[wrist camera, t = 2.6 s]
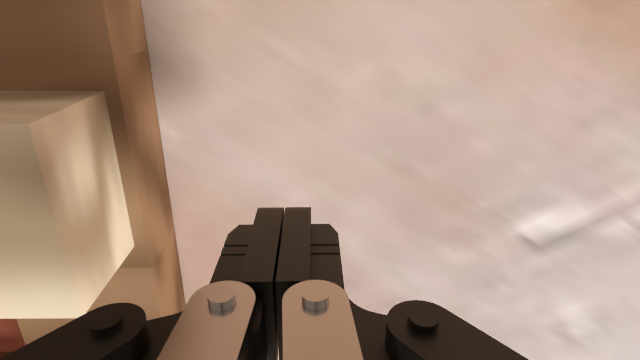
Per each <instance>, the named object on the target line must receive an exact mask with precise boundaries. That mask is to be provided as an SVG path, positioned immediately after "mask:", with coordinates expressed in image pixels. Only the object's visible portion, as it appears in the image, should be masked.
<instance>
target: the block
mask: <svg viewBox="0 0 640 360" xmlns="http://www.w3.org/2000/svg"><path fill="white" fill-rule="evenodd" d="M133 248H134V241H133V236H132V231H131V226H130V221H129V216H128V211H127V206H126V200H125V195H124V190H123V185H122V180H121V175H120V170H119V165H118V159H117V154H116V149H115V144H114V139H113V134H112V129H111V124H110V118H109V113H108V108H107V103H106V98H105V93H104V91H0V319H50V318H78V317H80V316H82V315H84V314H86V312H87V311H88V310H89V308H90V307H91V305H92V304H93V303H94V301H95V300H96V299H97V297H98V296H99V294H100V293H101V292H102V290H103V289H104V287H105V286H106V285H107V283H108V282H109V281H110V279H111V278H112V276H113V275H114V274H115V272H116V271H117V270H118V268H119V267H120V265H121V264H122V263H123V261H124V260H125V259H126V257H127V256H128V254H129V253H130V252H131V250H132V249H133Z"/></svg>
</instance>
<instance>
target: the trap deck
mask: <svg viewBox="0 0 640 360" xmlns="http://www.w3.org/2000/svg"><path fill="white" fill-rule="evenodd" d="M0 91H104V93H105V98H106V103H107V108H108V113H109V118H110V124H111V129H112V134H113V139H114V144H115V149H116V154H117V159H118V165H119V170H120V175H121V180H122V185H123V190H124V195H125V200H126V206H127V211H128V216H129V221H130V226H131V231H132V236H133V241H134V248H133V249H132V250H131V252H130V253H129V254H128V256H127V257H126V259H125V260H124V261H123V263H122V264H121V265H120V267H119V268H118V270H117V271H116V272H115V274H114V275H113V276H112V278H111V279H110V281H109V282H108V283H107V285H106V286H105V287H104V289H103V290H102V292H101V293H100V294H99V296H98V297H97V299H96V300H95V301H94V303H93V304H92V305H91V307H90V308H89V310H88V311H87V312H86V313H88V312H89V311H92V310H94V309H96V308H98V307H101V306H104V305H108V304H113V303H132V304H135V305H138V306H140V307H141V308H142V309H143V310H144V312H145V314H146V319H147V320H151V319H156V318H160V317H164V316H169V315H173V314H176V313H179V312H182V311H183V310H184V308H185V306H186V305H185V298H184V291H183V284H182V278H181V271H180V264H179V257H178V251H177V244H176V237H175V231H174V224H173V217H172V210H171V204H170V197H169V190H168V183H167V177H166V170H165V163H164V156H163V150H162V143H161V136H160V130H159V123H158V116H157V109H156V103H155V96H154V89H153V82H152V76H151V69H150V62H149V55H148V49H147V42H146V35H145V29H144V22H143V15H142V8H141V2H140V0H0ZM74 319H76V318H50V319H0V358H2V357H4V356H6V355H8V354H10V353H12V352H14V351H16V350H18V349H19V348H21V347H23V346H25V345H27V344H29V343H31V342H33V341H35V340H36V339H38V338H40V337H42V336H44V335H46V334H48V333H50V332H52V331H53V330H55V329H57V328H59V327H61V326H63V325H65V324H67V323H69V322H71V321H72V320H74Z"/></svg>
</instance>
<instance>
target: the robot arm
mask: <svg viewBox="0 0 640 360" xmlns="http://www.w3.org/2000/svg"><path fill="white" fill-rule="evenodd" d="M278 348H279V360H528V359H527V358H525V357H523V356H522V355H520V354H518V353H517V352H515V351H513V350H512V349H510V348H509V347H507V346H505V345H504V344H502V343H500V342H499V341H497V340H495V339H494V338H492V337H490V336H489V335H487V334H486V333H484V332H482V331H481V330H479V329H477V328H476V327H474V326H472V325H471V324H469V323H468V322H466V321H464V320H463V319H461V318H459V317H458V316H456V315H454V314H453V313H451V312H449V311H448V310H446V309H445V308H443V307H441V306H439V305H436V304H434V303H430V302H426V301H418V300H412V301H405V302H402V303H399V304H397V305H395V306H394V307H393V308H391V310H390V311H389V313H388V315H383V314H378V313H374V312H370V311H367V310H365V309H362V308H360V307H358V306H357V305H355V304H354V303H353V302H352V301H351V300H350V299H349V298H348V296H347V293H346V292H345V290H344V283H343V274H342V265H341V256H340V248H339V239H338V233H337V232H336V231H335V230H334V228H333V227H332V226H331V225H330V224H311V207H290V208H285V214H284V208H258V210H257V213H256V217H255V220H254V224H253V225H238V226H237V227H236V228H235V229H234V230H233V231H231V232H230V233H229V234H228V236H227V239H226V242H225V244H224V247H223V250H222V252H221V256H220V258H219V260H218V263H217V266H216V268H215V271H214V274H213V276H212V279H211V282H210V284H208V285H206V286H204V287H202V288H200V289H199V290H197V291H196V292H195V293H194V294H193V295H192V296H191V298H190V299H189V301H188V303H187V305H186V306H185V308H184V310H183V311H182V312H179V313H176V314H173V315H169V316H164V317H160V318H156V319H151V320H147V319H146V314H145V312H144V310H143V309H142V308H141V307H140V306H138V305H135V304H132V303H113V304H108V305H104V306H101V307H98V308H96V309H94V310H92V311H89V312H88V313H86V314H84V315H82V316H80V317H78V318H76V319H74V320H72V321H71V322H69V323H67V324H65V325H63V326H61V327H59V328H57V329H55V330H53V331H52V332H50V333H48V334H46V335H44V336H42V337H40V338H38V339H36V340H35V341H33V342H31V343H29V344H27V345H25V346H23V347H21V348H19V349H18V350H16V351H14V352H12V353H10V354H8V355H6V356H4V357H2V358H0V360H277V358H278Z"/></svg>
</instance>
